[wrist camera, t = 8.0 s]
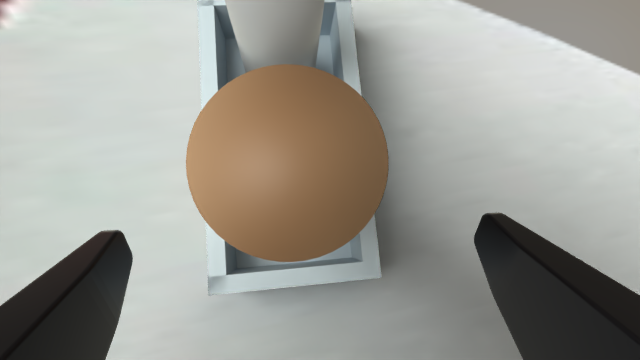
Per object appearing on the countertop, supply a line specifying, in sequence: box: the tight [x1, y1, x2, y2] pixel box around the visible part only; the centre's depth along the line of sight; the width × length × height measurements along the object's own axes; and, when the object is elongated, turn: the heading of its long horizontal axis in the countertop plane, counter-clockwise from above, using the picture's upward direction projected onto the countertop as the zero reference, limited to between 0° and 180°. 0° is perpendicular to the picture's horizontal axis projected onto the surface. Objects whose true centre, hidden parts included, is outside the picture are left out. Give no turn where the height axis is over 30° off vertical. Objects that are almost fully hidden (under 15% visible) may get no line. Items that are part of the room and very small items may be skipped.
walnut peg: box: [186, 64, 388, 262], centre depth 13 cm, size 4×4×13 cm
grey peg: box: [225, 0, 325, 73], centre depth 15 cm, size 4×4×11 cm
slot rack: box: [197, 0, 382, 295], centre depth 18 cm, size 15×9×4 cm, turn 5°
